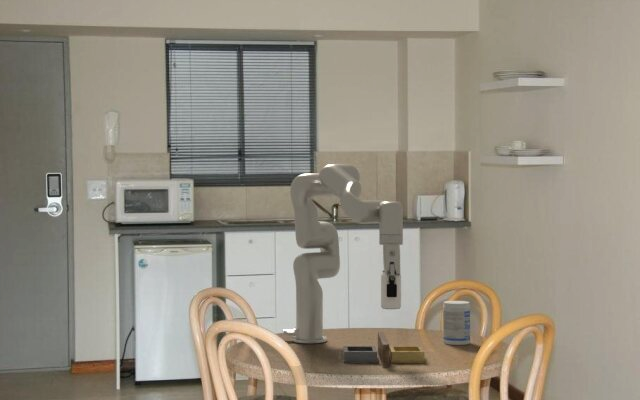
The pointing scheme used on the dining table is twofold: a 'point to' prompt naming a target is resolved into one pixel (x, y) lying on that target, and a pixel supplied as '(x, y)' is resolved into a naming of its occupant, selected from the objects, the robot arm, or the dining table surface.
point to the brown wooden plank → (383, 349)
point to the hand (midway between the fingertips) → (391, 295)
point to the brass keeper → (406, 354)
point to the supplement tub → (456, 322)
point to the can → (390, 301)
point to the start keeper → (360, 354)
